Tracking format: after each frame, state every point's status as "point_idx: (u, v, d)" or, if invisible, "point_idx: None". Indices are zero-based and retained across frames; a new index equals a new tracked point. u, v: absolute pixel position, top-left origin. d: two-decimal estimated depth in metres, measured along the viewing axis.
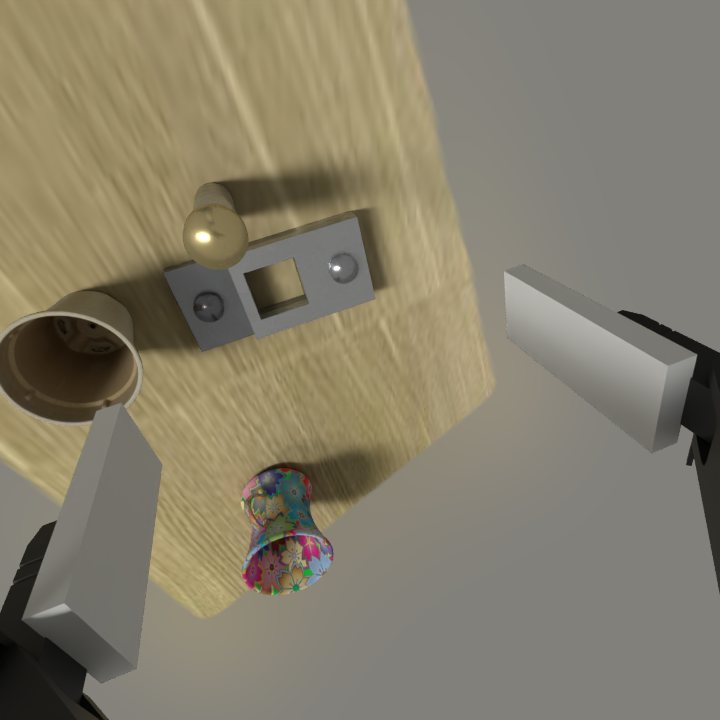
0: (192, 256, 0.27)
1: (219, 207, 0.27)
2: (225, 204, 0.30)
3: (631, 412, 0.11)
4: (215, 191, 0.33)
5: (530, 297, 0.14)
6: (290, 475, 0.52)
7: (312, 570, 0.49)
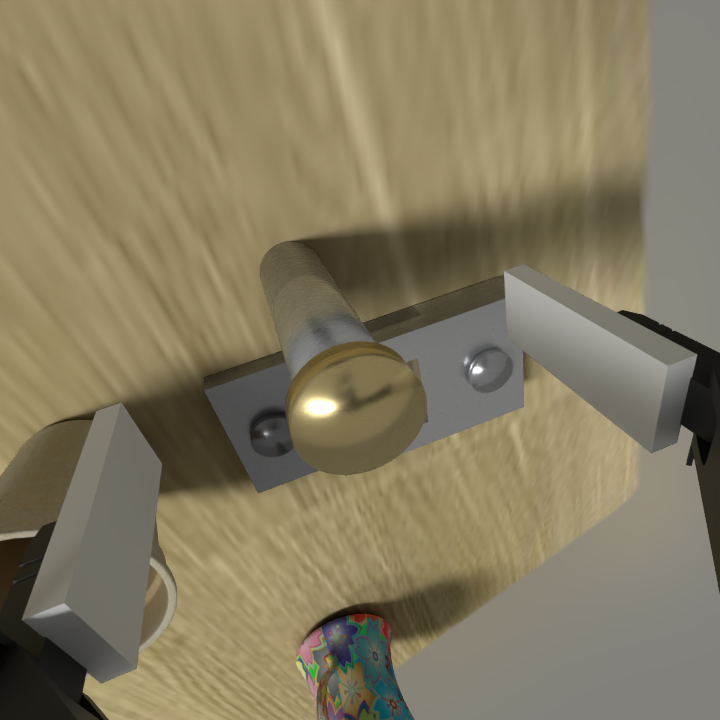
0: (306, 457, 0.12)
1: (378, 358, 0.11)
2: (351, 313, 0.15)
3: (631, 412, 0.11)
4: (311, 270, 0.18)
5: (530, 296, 0.14)
6: (366, 627, 0.37)
7: None
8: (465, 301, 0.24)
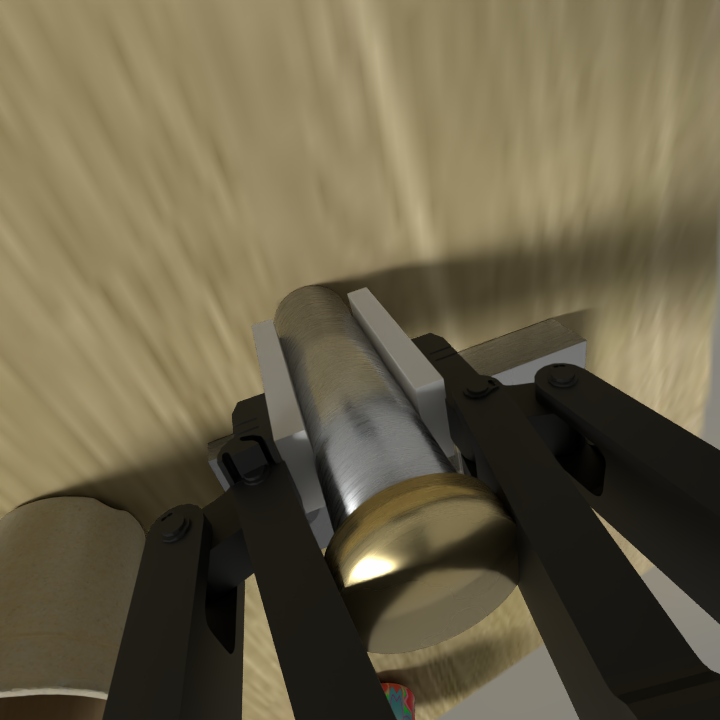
0: None
1: (467, 509, 0.08)
2: (403, 402, 0.11)
3: None
4: (343, 331, 0.14)
5: (360, 318, 0.15)
6: (389, 700, 0.33)
7: None
8: (517, 350, 0.20)
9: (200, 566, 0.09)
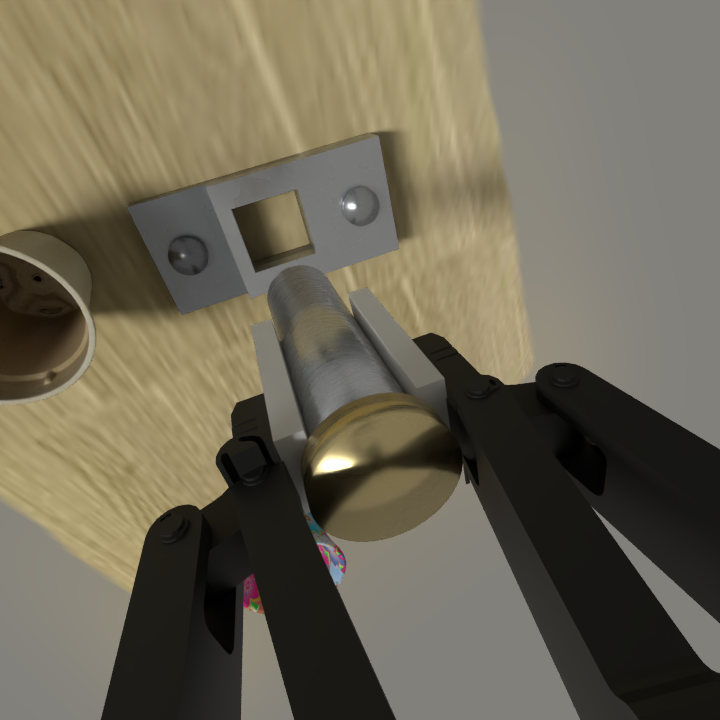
0: (325, 526, 0.11)
1: (409, 415, 0.10)
2: (371, 352, 0.13)
3: None
4: (325, 299, 0.16)
5: (361, 318, 0.15)
6: None
7: None
8: (336, 145, 0.30)
9: (199, 566, 0.09)
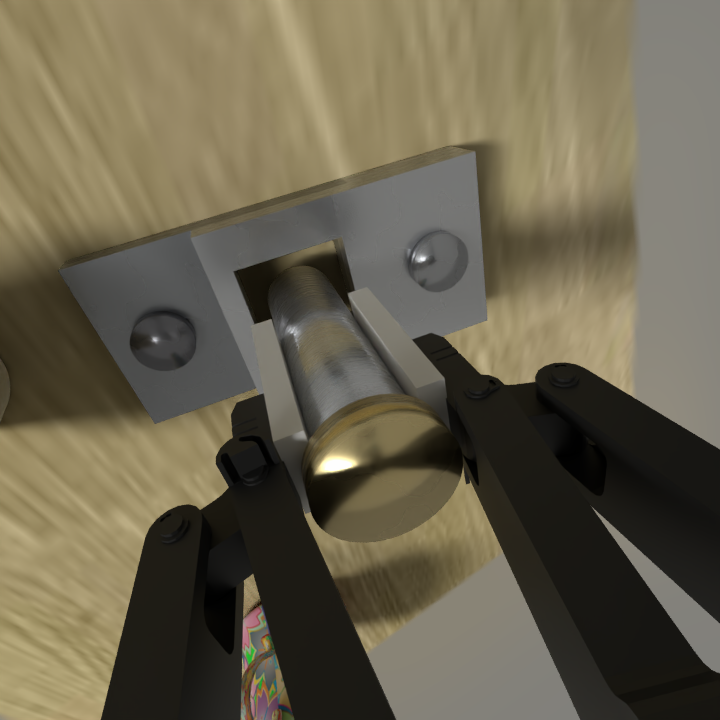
0: (326, 526, 0.11)
1: (410, 416, 0.10)
2: (371, 353, 0.14)
3: None
4: (325, 300, 0.16)
5: (361, 318, 0.15)
6: None
7: None
8: (404, 166, 0.19)
9: (199, 567, 0.08)
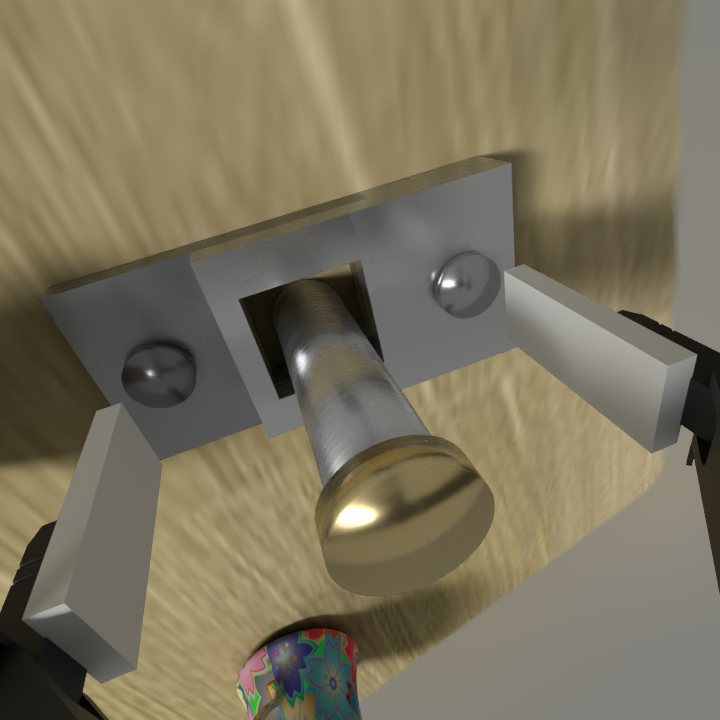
0: (343, 582, 0.10)
1: (438, 463, 0.09)
2: (388, 381, 0.12)
3: (631, 412, 0.11)
4: (336, 319, 0.15)
5: (530, 297, 0.14)
6: (323, 645, 0.29)
7: None
8: (430, 180, 0.17)
9: None
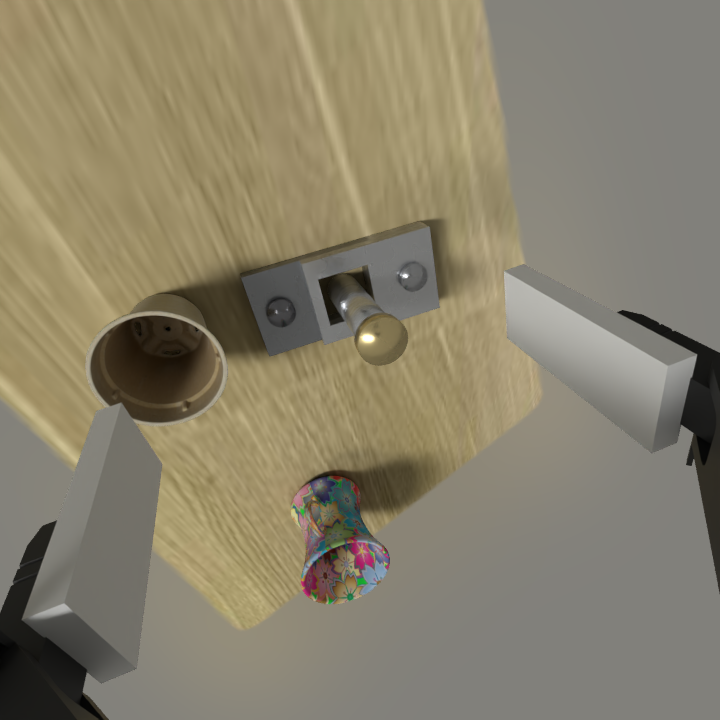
0: (362, 355, 0.33)
1: (390, 317, 0.32)
2: (377, 305, 0.36)
3: (631, 412, 0.11)
4: (357, 287, 0.39)
5: (530, 297, 0.14)
6: (341, 483, 0.52)
7: (366, 579, 0.48)
8: (396, 232, 0.40)
9: None
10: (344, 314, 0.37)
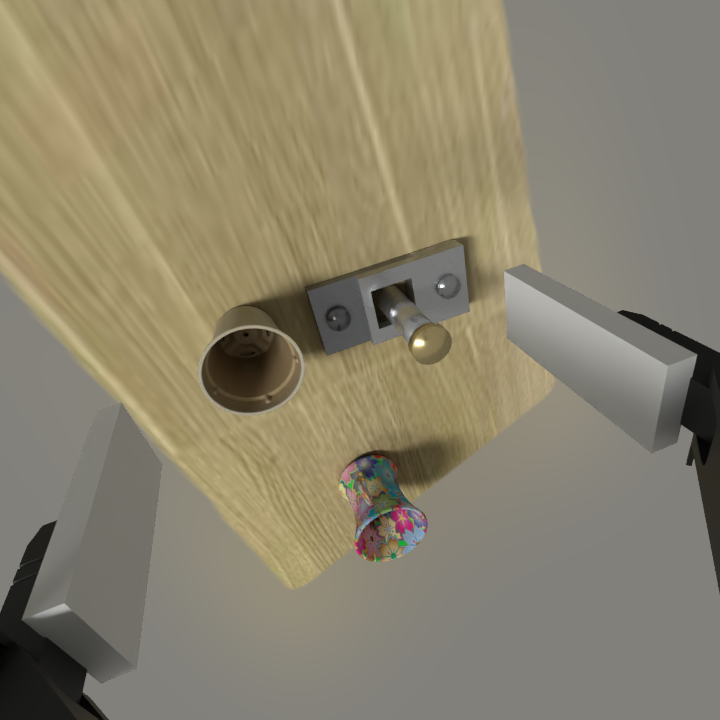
0: (415, 357, 0.41)
1: (438, 326, 0.40)
2: (423, 314, 0.43)
3: (631, 412, 0.11)
4: (404, 298, 0.46)
5: (530, 297, 0.14)
6: (382, 461, 0.60)
7: (406, 541, 0.57)
8: (435, 250, 0.48)
9: None
10: (395, 321, 0.45)
